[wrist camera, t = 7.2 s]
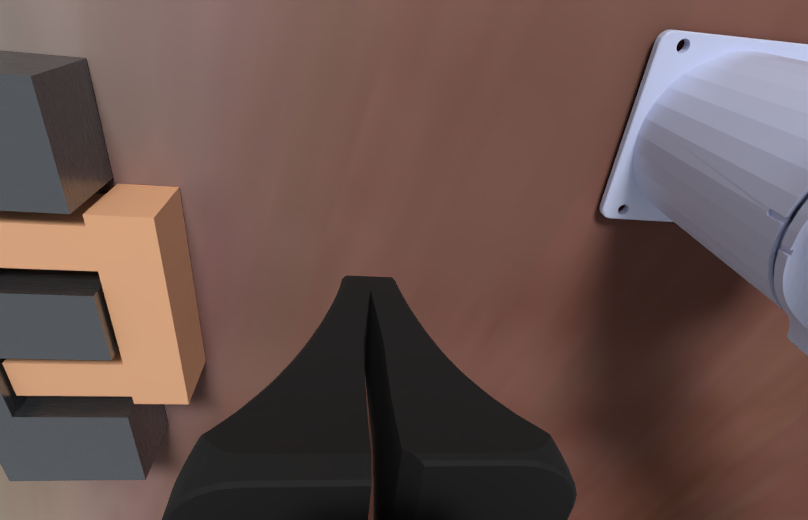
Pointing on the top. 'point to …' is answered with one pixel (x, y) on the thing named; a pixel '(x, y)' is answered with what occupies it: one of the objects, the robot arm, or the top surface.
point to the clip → (117, 293)
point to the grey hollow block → (60, 285)
